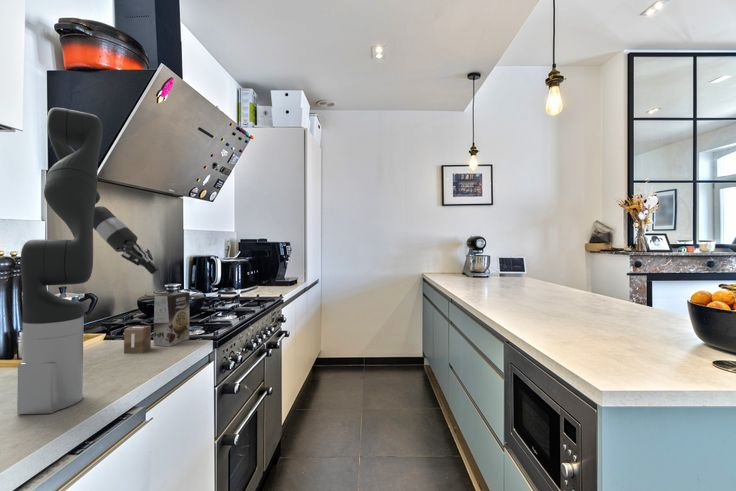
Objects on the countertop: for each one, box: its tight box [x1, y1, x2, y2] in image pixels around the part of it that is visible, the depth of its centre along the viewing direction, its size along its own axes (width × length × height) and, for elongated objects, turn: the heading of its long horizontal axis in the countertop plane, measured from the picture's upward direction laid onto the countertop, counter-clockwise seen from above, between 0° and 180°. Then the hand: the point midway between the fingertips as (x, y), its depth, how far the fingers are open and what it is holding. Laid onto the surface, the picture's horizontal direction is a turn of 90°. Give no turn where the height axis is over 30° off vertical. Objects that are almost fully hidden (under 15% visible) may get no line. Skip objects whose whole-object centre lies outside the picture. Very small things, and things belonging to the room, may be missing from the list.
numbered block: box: [123, 325, 152, 354], centre depth 107 cm, size 5×5×7 cm
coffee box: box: [152, 291, 191, 347], centre depth 116 cm, size 9×6×16 cm
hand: (155, 272), depth 116 cm, fingers closed
